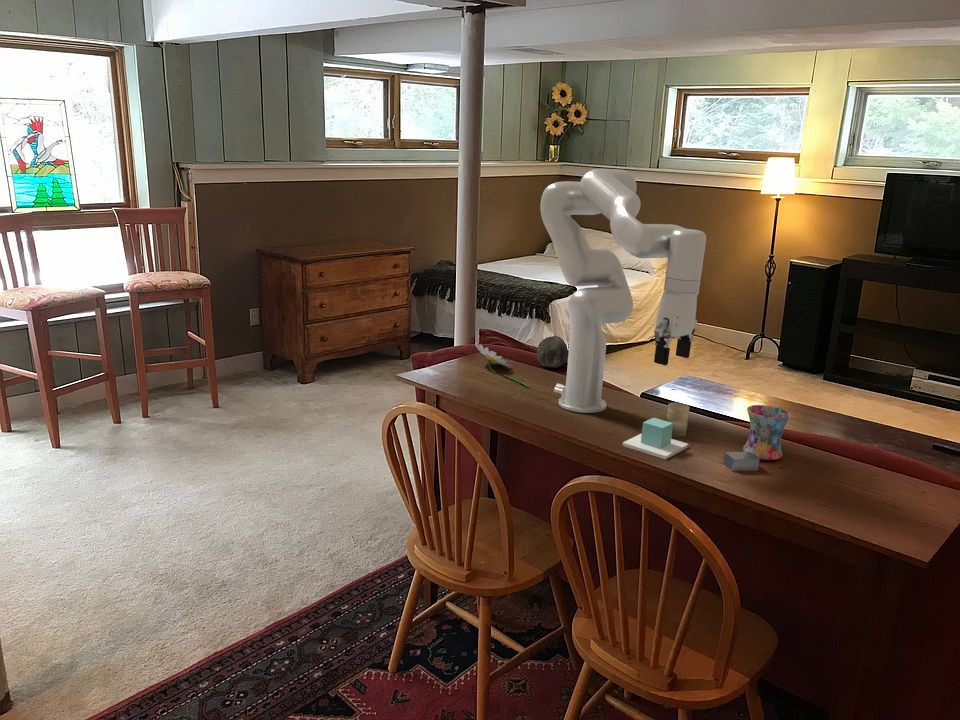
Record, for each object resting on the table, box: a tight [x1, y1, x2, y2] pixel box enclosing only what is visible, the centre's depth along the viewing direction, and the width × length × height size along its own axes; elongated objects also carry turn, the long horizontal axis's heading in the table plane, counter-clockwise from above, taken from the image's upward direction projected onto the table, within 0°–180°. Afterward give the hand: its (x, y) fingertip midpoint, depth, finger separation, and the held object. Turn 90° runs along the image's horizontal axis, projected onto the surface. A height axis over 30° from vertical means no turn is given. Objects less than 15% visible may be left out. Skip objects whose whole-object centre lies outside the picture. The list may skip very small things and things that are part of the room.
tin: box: [722, 451, 760, 472], centre depth 165 cm, size 6×4×3 cm, turn 100°
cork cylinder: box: [665, 402, 690, 438], centre depth 184 cm, size 5×5×7 cm
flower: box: [474, 343, 529, 387], centre depth 226 cm, size 13×5×30 cm
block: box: [641, 417, 673, 449], centre depth 174 cm, size 5×5×5 cm
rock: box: [536, 335, 569, 369], centre depth 238 cm, size 10×11×10 cm
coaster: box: [621, 433, 689, 460], centre depth 175 cm, size 11×11×1 cm
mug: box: [742, 404, 792, 461], centre depth 172 cm, size 12×9×11 cm
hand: (671, 360), depth 172 cm, fingers open, 9 cm apart
